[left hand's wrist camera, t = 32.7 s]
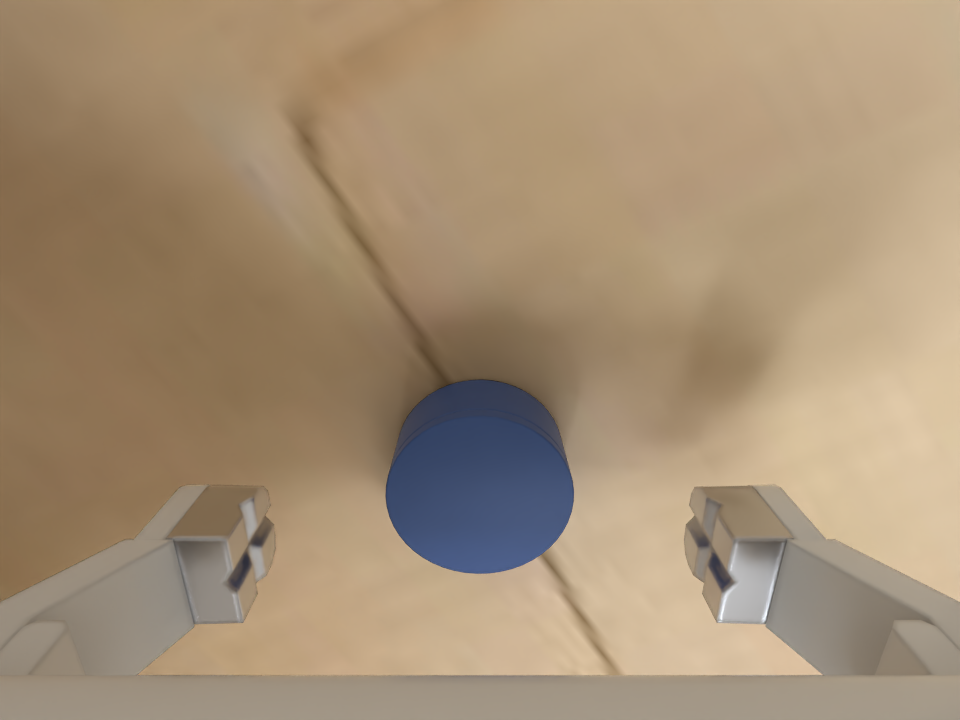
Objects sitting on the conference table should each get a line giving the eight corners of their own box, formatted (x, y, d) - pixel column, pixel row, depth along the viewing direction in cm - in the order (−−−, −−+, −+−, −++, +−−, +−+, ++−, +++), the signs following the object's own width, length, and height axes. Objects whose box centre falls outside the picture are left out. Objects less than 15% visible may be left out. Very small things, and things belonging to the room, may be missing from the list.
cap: (368, 476, 13) (352, 524, 11) (451, 348, 12) (446, 381, 10) (504, 545, 14) (507, 600, 12) (595, 431, 12) (612, 474, 11)
